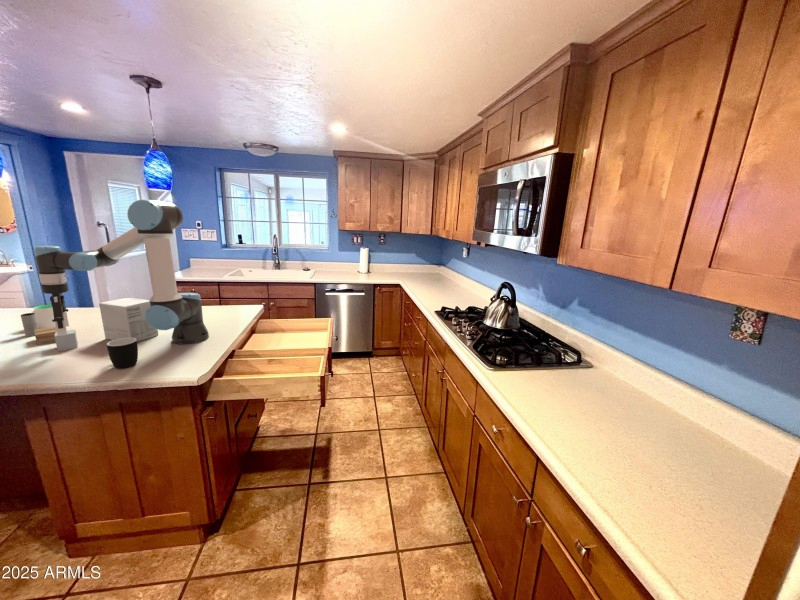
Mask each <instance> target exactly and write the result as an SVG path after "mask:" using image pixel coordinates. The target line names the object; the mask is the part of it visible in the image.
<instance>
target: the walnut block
mask: <svg viewBox="0 0 800 600" xmlns="http://www.w3.org/2000/svg"><path fill="white" fill-rule="evenodd" d="M55 332H57V329H56V327H50V328H43V329H41V328H39V329H36V330H35V340H36V345H37V346H39V345H44V344H46V345H47V344H50V343H56V341H55Z"/></svg>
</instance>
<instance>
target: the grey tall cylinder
mask: <svg viewBox="0 0 800 600" xmlns="http://www.w3.org/2000/svg"><path fill="white" fill-rule="evenodd" d="M20 319H21V322H22V327H23V332H24V335H25V337H34V336H35V330H36V329H40V328H38V323H37V319H36V315H35V313H29V312H26V313H22V314H20Z"/></svg>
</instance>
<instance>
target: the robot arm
mask: <svg viewBox="0 0 800 600" xmlns="http://www.w3.org/2000/svg"><path fill="white" fill-rule="evenodd" d="M127 209H128V210H127V213H126V214H127V215H126V216H127V220H128V221H129V223H130V224H132V226H133V227H132V228H131V229H129V230H127V231H125V232H124V233H123V234H121V235H119V236H117V237H116V238H114V239H112V240H111V241H108V242H107V243H106V244H104V245H103V246H101V247H98V248H97V249H94V250H84V251H74V252H73V251H63V250H62V247H61V246H58V245H37V246H35V247H34V258H35V261H36V266H37V270H38V277H39V281H40V283H41V290H42V293H43V294H49V295H50V297H49V300H50V305H52V307H53V315H54V320H52V322H55V324H56V329H57V334H58V336H63V335H67V327H69V326H70V324H69V323H70V322H69V319H68V313H67V312H69V309H68V308H67V307H66V302H65V301H66V300H65V295H63V293H67V292H69V290H70V289H69V286H68V284H69V283H67V281H68V280H67V278H68V277H69V275H68V274H66V271H77V272H78V271H79V272H90V271H94V269H97V268H102V267H103V268H104V267H109V266H114V265H116V264H117V263H119V260H120V259H121V258H123V257H124V256H126V255H129V253H131V252H132V251H135V250H136V249H138V248H140V247H141V246H143V245H144V249H145V256H146V261H147V267H148V272H149V273H148V274H149V277H150V278H149V279H150V285H151V290H152V296H150V298H149V299H148V300H149V301H150V307H149V308H148V310H147V311H146V313H145V317H146V320H147V322H148V323H149V324H150V325H151V326H153V327H154V328H156V329H158V331H168V330H171V329H173V331H172V334H171V340H172V343H174V344H177V345H188V344H189V345H190V344H196V343H200V342H203V341H206V340H207V339H208V338H210V337H209V336H210V335H209V330H208V329H207V327H206V325H205V323H204V320H203V318H204V317H203V307H202V299H201V295H200V293H196V292H178V286H177V280H176V273H175V266H174V261H173V253H172V247H171V241H170V240H171V239H170V238H172V236H173V235H174V230H176V229H178V227H180V226H181V225H182V224H183V221H184V214H183V211H182V210H181V208H180V207H179V206H178V205H177V204H175V203H173V202H170V201H165V200H158V199H157V200H155V199H138V200H136V201H133V202H132V203H131V204H130V205H129V207H128V208H127Z"/></svg>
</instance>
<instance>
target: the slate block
mask: <svg viewBox="0 0 800 600" xmlns="http://www.w3.org/2000/svg"><path fill="white" fill-rule="evenodd" d="M66 330H67V329H66ZM55 341H56V342H55V345H56V349H57V352H61V351H62V352H63V351H66V350H72V349H78V348H79V342H78V337H77V333H76V329H69V330H67V335H63V336H58V334H57V332H55Z"/></svg>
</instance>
